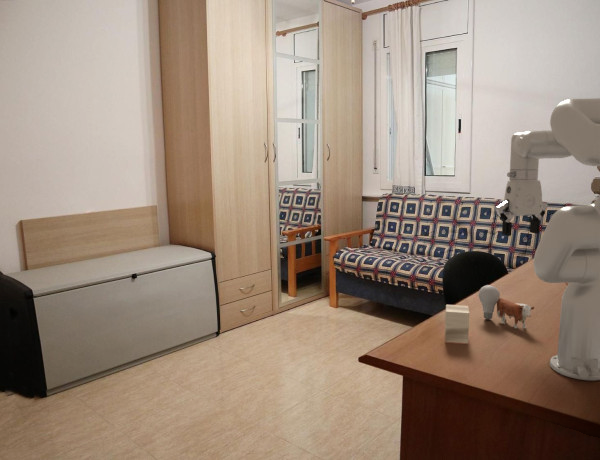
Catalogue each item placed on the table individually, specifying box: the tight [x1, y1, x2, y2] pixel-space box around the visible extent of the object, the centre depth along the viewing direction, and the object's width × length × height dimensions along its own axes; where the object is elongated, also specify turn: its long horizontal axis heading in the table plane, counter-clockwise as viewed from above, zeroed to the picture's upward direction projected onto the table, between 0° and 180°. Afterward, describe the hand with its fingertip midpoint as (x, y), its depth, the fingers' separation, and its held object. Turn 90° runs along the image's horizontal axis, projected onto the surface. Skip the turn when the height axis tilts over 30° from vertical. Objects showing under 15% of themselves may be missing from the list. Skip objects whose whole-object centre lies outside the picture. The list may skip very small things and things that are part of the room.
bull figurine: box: [496, 297, 535, 330], centre depth 151 cm, size 4×13×8 cm, turn 21°
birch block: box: [444, 304, 470, 345], centre depth 142 cm, size 6×6×9 cm
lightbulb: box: [478, 284, 501, 321], centre depth 156 cm, size 6×6×11 cm
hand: (520, 234), depth 150 cm, fingers open, 9 cm apart
